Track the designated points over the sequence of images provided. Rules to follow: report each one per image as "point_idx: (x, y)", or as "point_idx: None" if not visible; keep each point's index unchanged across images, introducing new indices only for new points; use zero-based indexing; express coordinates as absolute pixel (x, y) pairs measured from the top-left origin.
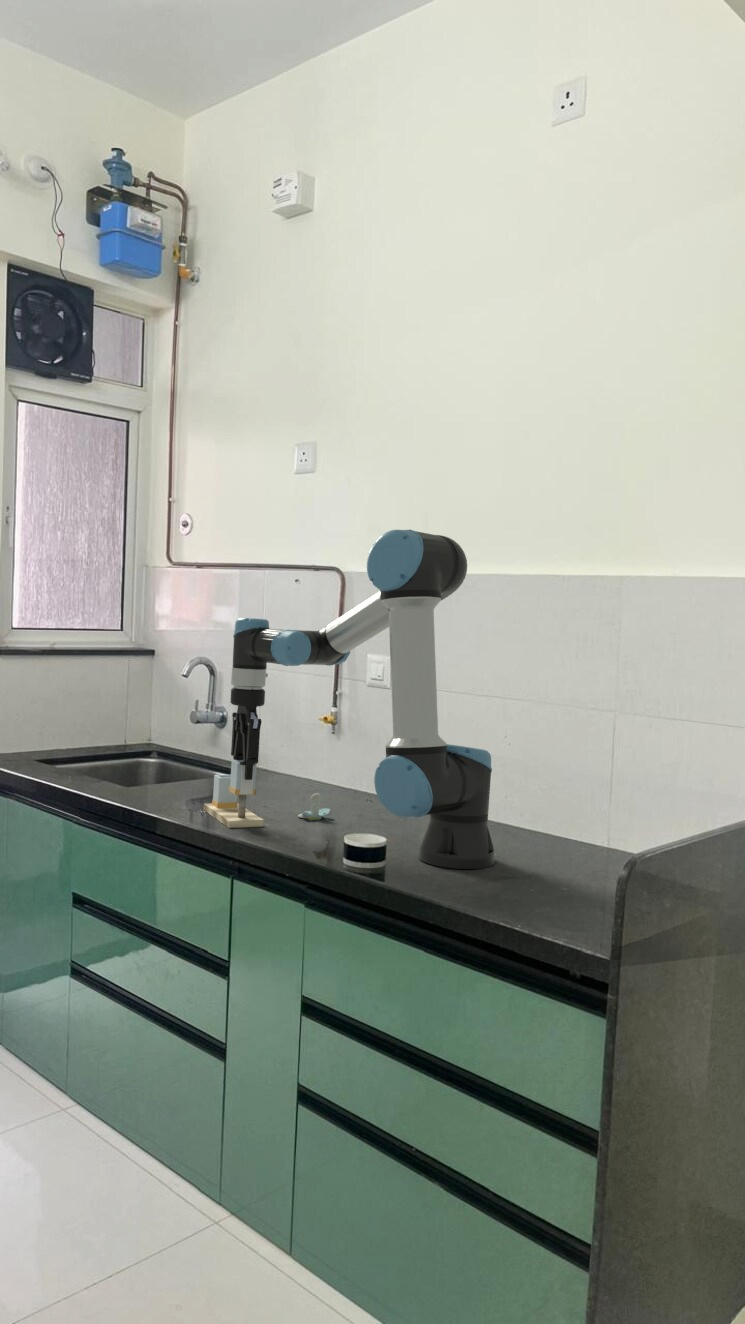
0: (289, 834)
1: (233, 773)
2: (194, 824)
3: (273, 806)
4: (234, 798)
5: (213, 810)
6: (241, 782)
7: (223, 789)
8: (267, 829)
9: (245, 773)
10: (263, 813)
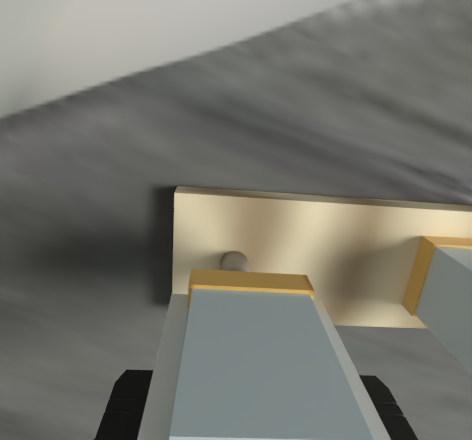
0: (45, 339)
1: (269, 349)
2: (272, 74)
3: (448, 422)
4: (426, 316)
5: (391, 206)
6: (162, 338)
7: (469, 295)
8: (130, 302)
9: (131, 406)
10: (367, 368)
